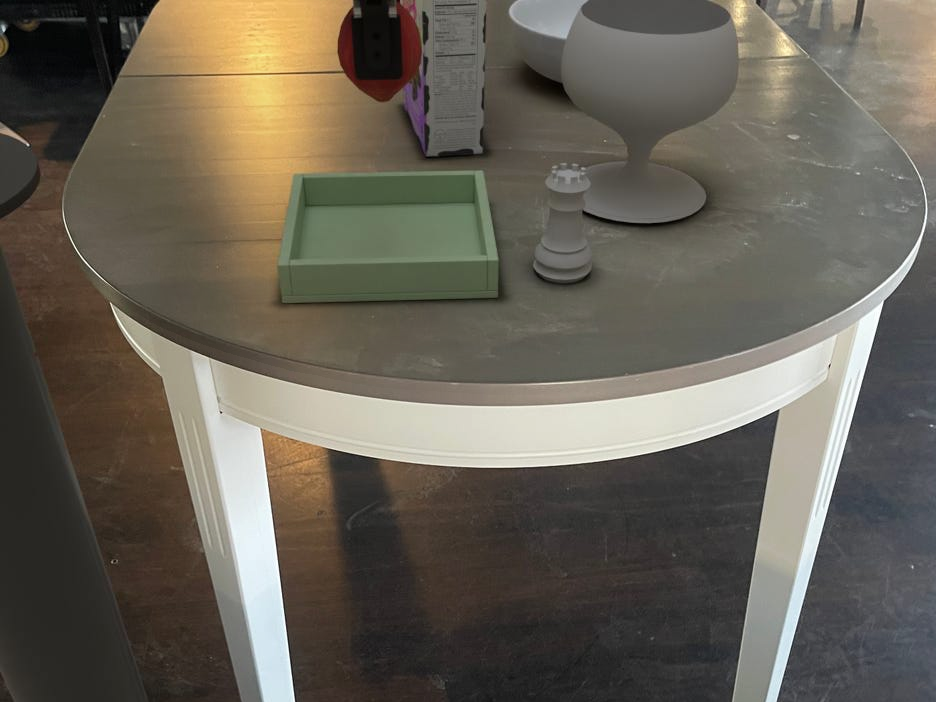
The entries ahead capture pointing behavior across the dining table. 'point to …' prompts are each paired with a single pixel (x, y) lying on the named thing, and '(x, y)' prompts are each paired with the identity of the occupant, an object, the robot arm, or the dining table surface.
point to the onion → (410, 57)
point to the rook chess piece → (564, 228)
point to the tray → (388, 237)
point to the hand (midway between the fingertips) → (379, 59)
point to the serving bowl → (542, 32)
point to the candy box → (448, 76)
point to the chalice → (648, 94)
